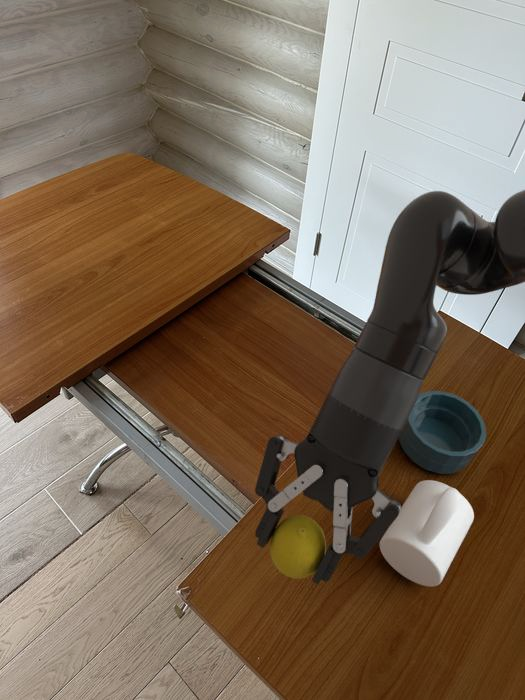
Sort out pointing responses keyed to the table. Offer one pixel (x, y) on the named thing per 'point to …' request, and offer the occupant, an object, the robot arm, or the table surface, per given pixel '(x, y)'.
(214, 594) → the table surface
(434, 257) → the robot arm
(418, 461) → the bowl
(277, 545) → the lemon
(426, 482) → the mug
